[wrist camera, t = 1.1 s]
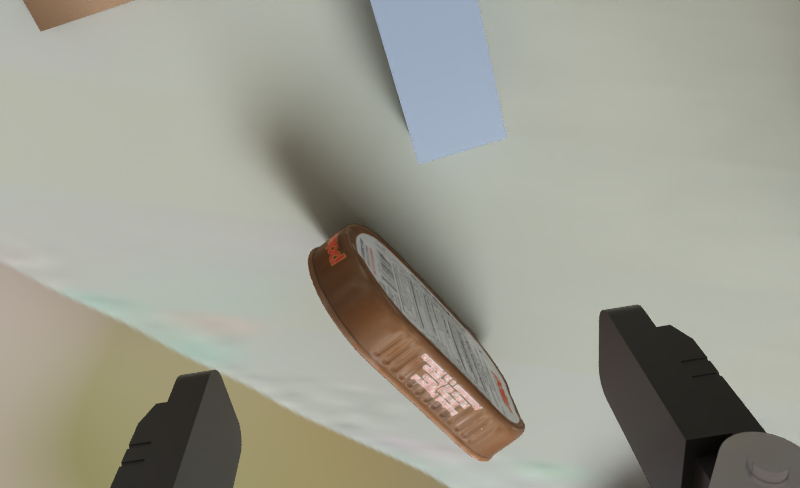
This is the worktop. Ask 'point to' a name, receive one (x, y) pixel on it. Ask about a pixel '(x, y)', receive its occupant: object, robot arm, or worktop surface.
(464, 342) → the tin
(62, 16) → the board
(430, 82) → the rectangular block
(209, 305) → the worktop surface
